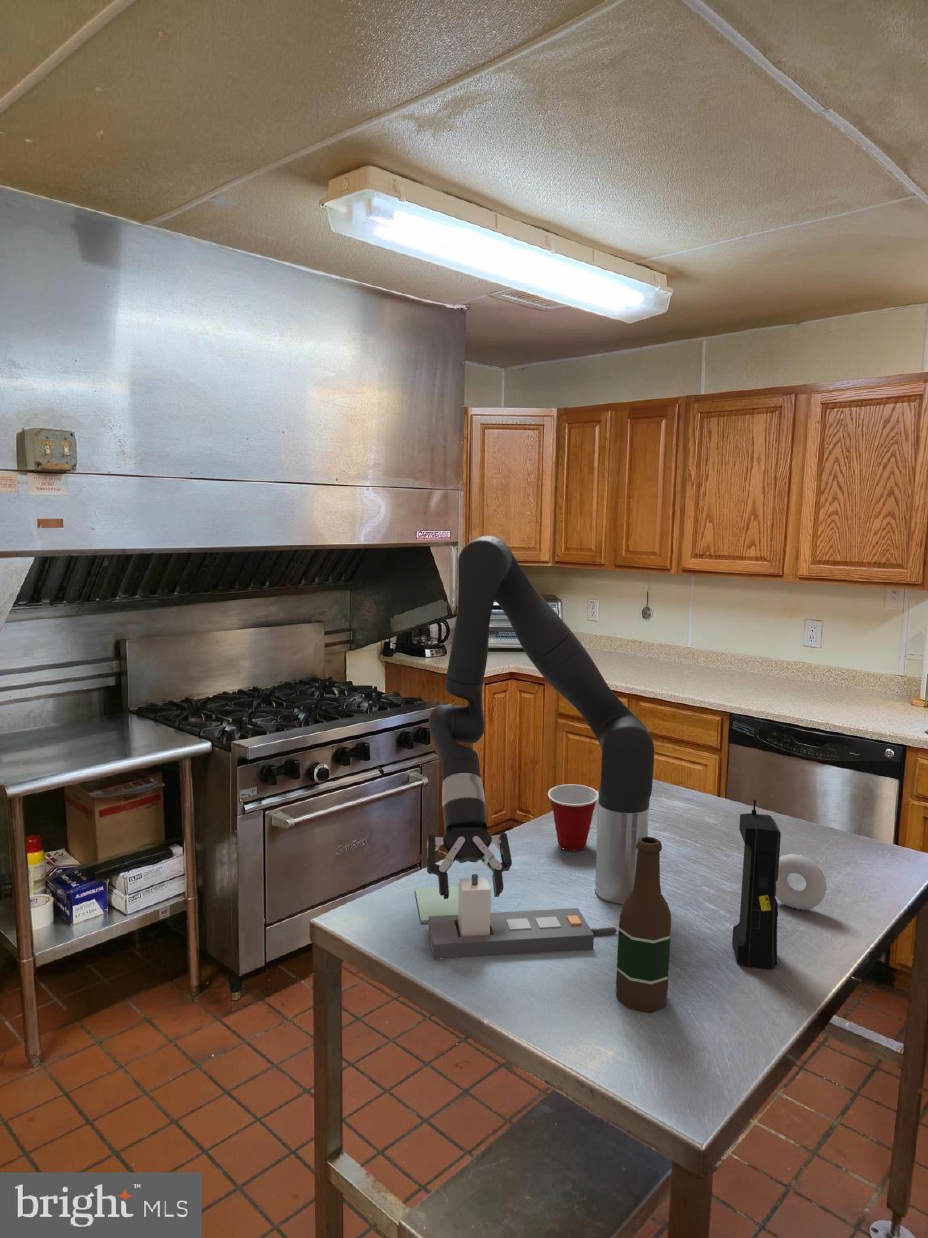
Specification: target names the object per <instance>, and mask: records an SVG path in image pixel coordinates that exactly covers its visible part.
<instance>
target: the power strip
mask: <svg viewBox="0 0 928 1238" xmlns="http://www.w3.org/2000/svg"><path fill="white" fill-rule="evenodd" d="M427 924H428V928H427V930H428V935H429V939H430V940H429V941H430V946H432V947H431V951H433V952H432V955H433V956H434V957H433V960H441V959H440V958H449V959H460V958H461V959H462V958H464V959H465V958H477V957H478V958H479V957H493V956H511V955H524V954H525V955H526V954H541V953H543V954H544V953H558V952H575V951H590V950H591V951H592V950H594V947H595V946H594V944H595V943H594V942H595V941H594V940H595V936H598V935H600V936H601V935H615V934H617V932H618V929H617V928H616V927H612V926H611V927H597V928H590V926H589V924H588V922H587V920H586V918H584V916H583V914H582V912H581V911H580V909H579V908H578V907H575V908H574V907H573V908H572V907H571V908H555V909H554V908H553V909H538V910H534V909H533V910H519V911H500V912H497V911H496V912H490V935H484V936H467V937H458V915H442V916H428V923H427Z"/></svg>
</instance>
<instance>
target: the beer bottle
mask: <svg viewBox="0 0 928 1238" xmlns="http://www.w3.org/2000/svg"><path fill="white" fill-rule="evenodd" d="M636 848H637V849H638V853H637V863H636V872H635V881H634V887H633V890H632V891H631V892H630V893H629V895H628V896H627V897H626V899H625V901H624V903H623V904H622V906H621V911H620V914H619V922H618V929H617V932H618V933H617V935H618V936H617V958H616V977H615V980H616V981H615V984H616V985H615V997H616V998H617V1000H619V1002H621V1003H622V1004H623V1005H624V1006H626V1007H627V1008H628V1009H629V1010H632V1011H633V1010H634V1011H638V1012H645V1013H653V1012H656V1011H658V1010H661V1009H664V1008H665V1007H666V1005H667V1000H668V999H667V996H668V988H669V979H670V978H669V975H670V973H669V971H670V957H671V956H670V954H671V940H672V939H671V938H672V935H671V934H672V912H671V909H670V905H669V904H668V902H667V900H666V899H665V897H664V896H663V894H662V889H661V888H662V887H661V864H660V863H661V862H660V861H661V860H660V859H661V857H660V856H661V855H660V854H661V853H660V852H662V849H663V845H662V842H661V840H660V839H658V838H655V837H652V836H648V837H642V838H638V841H637V844H636Z"/></svg>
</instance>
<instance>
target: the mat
mask: <svg viewBox="0 0 928 1238" xmlns="http://www.w3.org/2000/svg"><path fill="white" fill-rule="evenodd" d="M448 887H449V897H448V899H444V898H443V895H442V896H441V895H440V893H439V886H438V887H417V888H415V889H414V893H415V897H416V902H417V908H418V909H417V910H418V915H419V919H420V923H421V924H428V916H442V915H458V901H459V885H457V886H448Z"/></svg>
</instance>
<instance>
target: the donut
mask: <svg viewBox="0 0 928 1238" xmlns="http://www.w3.org/2000/svg"><path fill="white" fill-rule="evenodd" d="M791 874H797V875H800V876H801V877H802V878H803V879H804V881H805V884H806V885H805V887H804V889H799V890H798V889H795V888H793V887H792V886H791V885H790V883H789V881H788V877H789V876H790V875H791ZM827 888H828V887H827V879H826V877H825V874H824V872H823V871H822V869H821V868H820V867H819V865H818V864H817V862H816V863H815V861H813V860H812V859H810V858H809V857H807V856H804V855H801V854H798V853H797V854H796V853H789V854H784V855H781V856H779V871H778V880H777V881H776V896H775V898H776V900H777V901H780V902H781V903H782V904H783V905H785V906H787V907H789V906H790V907H789V908H791V907H792V909H794V908H796V909H795V910H800V909H801V911H805V910H810V909H814V908H815V907H817V906H819V905H820V904H821V903H822V901H824V899H825V896H826V893H827Z"/></svg>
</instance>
